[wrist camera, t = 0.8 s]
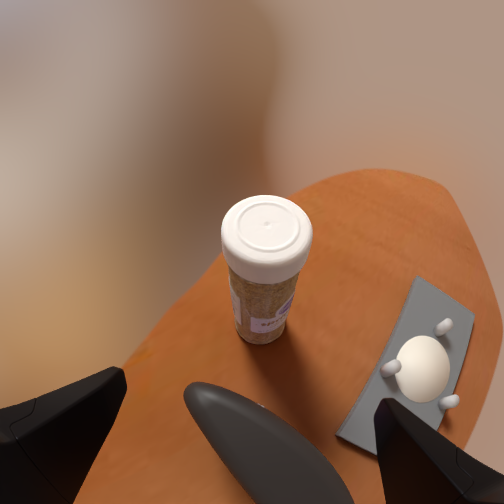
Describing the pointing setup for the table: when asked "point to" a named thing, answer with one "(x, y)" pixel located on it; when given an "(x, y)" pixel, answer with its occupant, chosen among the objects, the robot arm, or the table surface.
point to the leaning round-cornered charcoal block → (263, 449)
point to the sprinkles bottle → (264, 262)
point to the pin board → (415, 363)
